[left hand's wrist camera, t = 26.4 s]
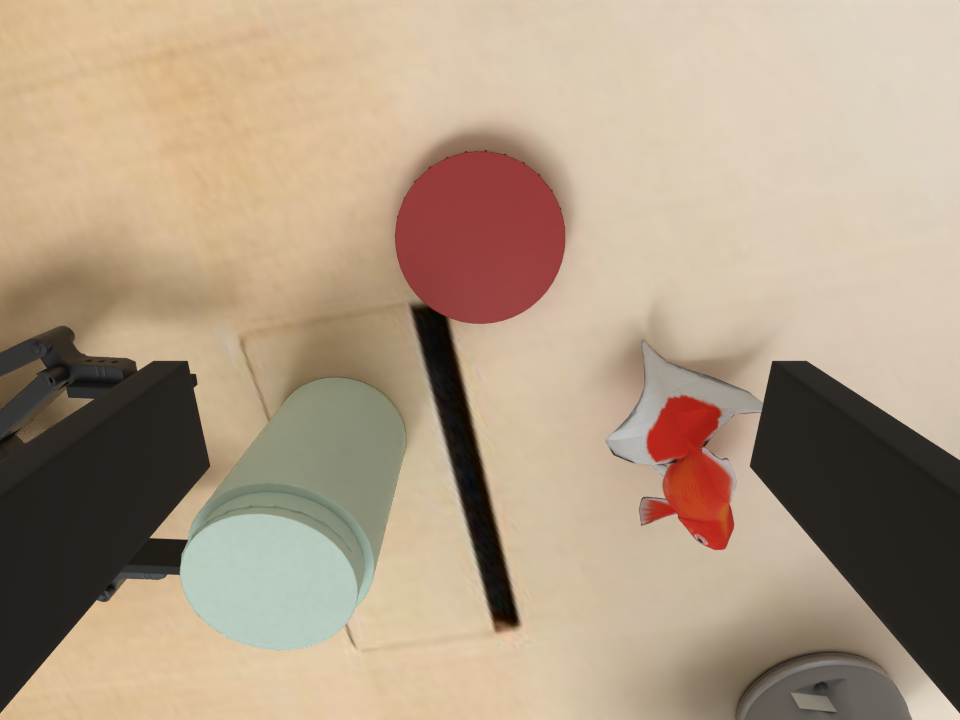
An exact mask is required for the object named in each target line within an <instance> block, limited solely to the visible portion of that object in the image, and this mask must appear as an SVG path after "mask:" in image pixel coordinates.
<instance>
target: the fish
mask: <svg viewBox="0 0 960 720" xmlns="http://www.w3.org/2000/svg"><path fill="white" fill-rule="evenodd" d="M641 345H642V352H643V357H644V372H645V387H644V390H643V392H642V395H641V397H640V400H639V402H638V404H637V405H636V407H635V408H634V409H633V411H632V412H631V414H630V415H629V417H628V418H627V419H626V420H625V421H624V422H623V423H622V424H621V425H620V426H619V427H618V428H617V430H616V431H615V432H613V433H612V434H611V435H610V436H609V437H607V438H606V439H605V441H606V443H607V445H608V446H609V448H610V450H611V451H612V453H613V455H615V456H617V457H620V458H622V459H625V460H627V461H630V462H632V463H638V464H652V467H653V468H654V469H655V470H657V471H658V472H659V473H660V474H662V475H663V476H664V479H663V492H664V495H665V497H666V499H662V498H653V497H643V498H642V500H641V503H640V508H639V512H640V519H641V526H642V525H646V524H649V523H651V522H653V521H655V520H658V519H661V518H663V517H666V516H670V515H673V514H678V519H679V520H680V521H681V522H682V524H683V525H684V526H685V527H686V528H687V529H688V531H689V532H690V533H691V535H692V536H693V537H694V538H695V539H696V540H697V541H698V542H699V543H701V544H703V545H705V546H707V547H709V548H712V549H714V550H723V549H725V548H726V546H727V543H728V541H729V538H730V536H731V534H732V531H733V529H734V521H733V515H732V510H731V507H730V505H729V503H730V502H731V499H732V496H733V493H734V490H735V486H736V482H737V481H736V477H735V473H734V470H733V468H732V466H731V464H730V462H729V460H728V459H727V458H725V459H719V458H718V457H716V456H715V455H714V454H712V453H711V452H710V451H709V450H708V449H707V448H705V447H704V446H706V444H707V443H708V441H709V440H710V439H711V437H712V436H713V435H714V433H715V432H716V431H717V429H718V428H720V427H721V426H722V425H724V424H725V423H726V422H727V421H728V420H729V419H730V418H732V417H733V416H734V415H735V414H745V413H759V412H762V407H763V403H762V402H761V401H760V400H758V399H757V398H756V397H755V396H753V395H752V394H751V393H749V392H748V391H745V390H743V389H740V388H738V387H735V386H733V385H731V384H728V383H726V382H723V381H721V380H718V379H716V378H713V377H710V376H707V375H704V374H701V373H697V372H694V371H691V370H688V369H685V368H682V367H679V366H677V365H674V364H671V363H668V362H667V361H666V360H664V359H663V358H662V357H661V356H660V355H659V354H658V353H656V352H655V351H654V350H653V349H652V348H650V346H649V345H648V344H647V343H646V341H645V340H644V339H643V340H642V342H641ZM700 448H702V449H700ZM666 463H672V464H671V465H670V466H669V467H668V466H666V465H662V464H666Z"/></svg>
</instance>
